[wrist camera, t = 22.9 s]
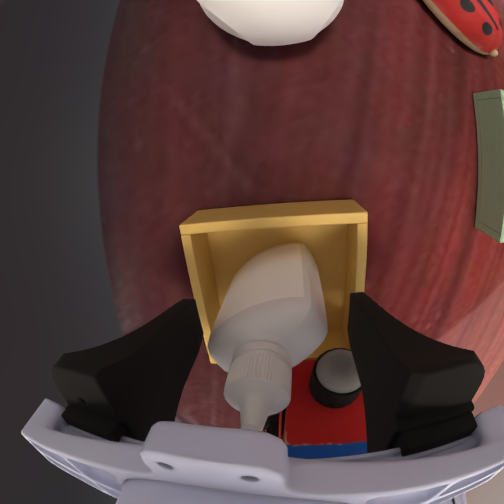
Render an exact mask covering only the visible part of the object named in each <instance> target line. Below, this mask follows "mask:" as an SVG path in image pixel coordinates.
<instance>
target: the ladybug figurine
mask: <svg viewBox="0 0 504 504" xmlns="http://www.w3.org/2000/svg"><path fill="white" fill-rule="evenodd" d="M423 2H424V3H425V4H426V5H427V7H428V8H429V9H430V10H431V12H432V13H433V14H434V15H435V16H436V17H437V19H438V20H439V21H440V22H441V23H442V24H443V25H444V26H445V27H446V28H447V29H448V30H449V31H450V32H451V33H452V34H453V35H454V36H455V37H456V38H458V39H459V40H460V41H461V42H462V43H464V44H465V45H466V46H468V47H469V48H470V49H472V50H474V51H476V52H478V53H480V54H483V55H491V56H492V57H495V56H497V55H498V51H497V49H498V48H499V46H500V44H501V41H502V36H503V32H502V24H501V21H500V18H499V16H498V14H497V11H496V10H495V8H494V6H493V4H492V2H491V0H423Z"/></svg>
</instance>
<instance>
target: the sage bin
mask: <svg viewBox="0 0 504 504" xmlns="http://www.w3.org/2000/svg"><path fill="white" fill-rule="evenodd" d="M473 100H474V107H475V116H476V127H477V142H478V192H477V208H476V219H475V228H477V229H479V230H480V231H482V232H484V233H485V234H487V235H489V236H490V237H492V238H493V239H495V240H497V241H498V242H500V243H503V242H504V90H501V89H497V90H490V91H484V92H478V93H473Z"/></svg>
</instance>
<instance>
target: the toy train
mask: <svg viewBox="0 0 504 504" xmlns="http://www.w3.org/2000/svg"><path fill="white" fill-rule="evenodd" d="M264 427H268V429H267V433H269V434H271V435H274V436H276V437H278V438H280V439H282V440H283V442H284V443H285V445H286V446H287V448H288V457H293V458H302V459H321V458H333V457H343V456H352V455H359V454H366V453H367V435H366V421H365V410H364V402H363V394H362V389H361V384H360V380H359V377H358V373H357V369H356V366H355V362H354V359H353V355H352V352H351V350H349V349H346V348H333V349H330V350H327V351H325V352H324V353H322V354H321V355H320V356H319V357H318V358H317V360H303V361H302V362H300V363H299V364H297V365H296V366H294V367H293V368H292V382H291V401H290V403H289V405H288V406H287V407H286V408H285V409H284V410H282V411H281V412H280V416H279V413H276V414H273V415H269V416H268V417H267V420H266V423H265V425H264Z"/></svg>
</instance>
